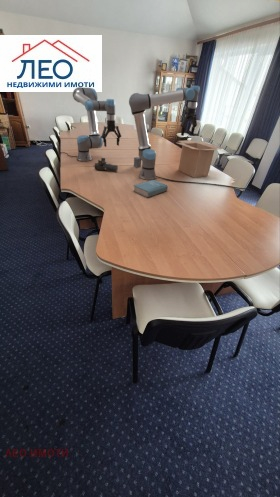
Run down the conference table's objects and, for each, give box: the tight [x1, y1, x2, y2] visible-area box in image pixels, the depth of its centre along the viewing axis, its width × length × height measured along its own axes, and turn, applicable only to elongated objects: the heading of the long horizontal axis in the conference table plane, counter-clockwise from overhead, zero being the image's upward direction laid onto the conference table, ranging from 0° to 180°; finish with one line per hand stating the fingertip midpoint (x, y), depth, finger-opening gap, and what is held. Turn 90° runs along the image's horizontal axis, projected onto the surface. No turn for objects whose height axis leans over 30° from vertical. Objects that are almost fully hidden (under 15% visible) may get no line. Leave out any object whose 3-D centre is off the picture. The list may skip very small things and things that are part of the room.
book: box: [133, 179, 169, 198], centre depth 177 cm, size 23×16×5 cm
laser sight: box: [93, 157, 119, 173], centre depth 211 cm, size 10×22×10 cm, turn 78°
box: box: [176, 139, 222, 179], centre depth 217 cm, size 44×36×27 cm
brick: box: [133, 156, 142, 169], centre depth 228 cm, size 5×6×9 cm
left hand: (111, 146), depth 208 cm, fingers open, 13 cm apart
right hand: (187, 135), depth 203 cm, fingers open, 13 cm apart
